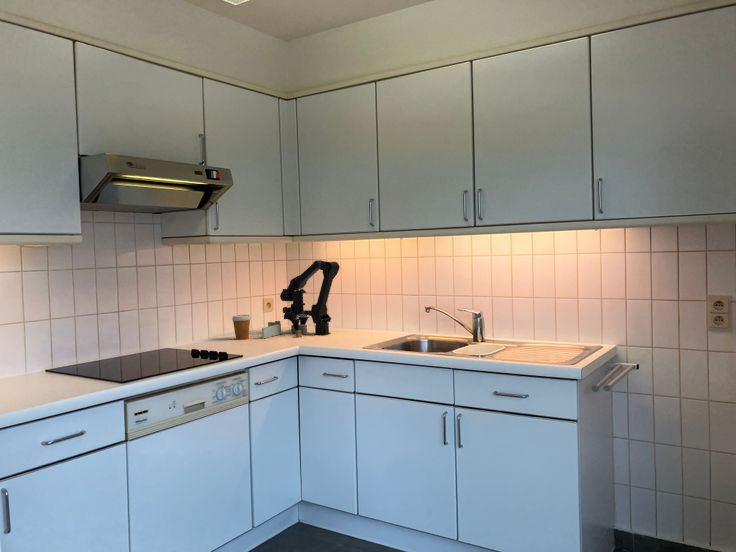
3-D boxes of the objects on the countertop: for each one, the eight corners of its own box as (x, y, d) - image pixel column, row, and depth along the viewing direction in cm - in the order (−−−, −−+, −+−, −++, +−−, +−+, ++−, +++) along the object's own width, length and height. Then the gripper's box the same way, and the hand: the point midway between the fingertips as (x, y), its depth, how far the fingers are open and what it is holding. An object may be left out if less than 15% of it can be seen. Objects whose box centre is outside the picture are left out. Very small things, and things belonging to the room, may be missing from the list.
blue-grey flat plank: (279, 333, 338) (279, 323, 338) (281, 333, 338) (281, 323, 337) (262, 338, 324) (261, 327, 324) (264, 338, 324) (263, 327, 323)
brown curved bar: (267, 333, 344) (267, 320, 344) (271, 332, 346) (270, 319, 345) (298, 337, 324) (297, 323, 324) (301, 336, 326) (301, 323, 325)
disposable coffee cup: (253, 337, 331) (252, 314, 330) (248, 340, 321) (247, 316, 321) (236, 337, 332) (235, 314, 331) (230, 340, 322) (229, 317, 322)
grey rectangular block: (307, 332, 342) (306, 324, 341) (302, 333, 338) (302, 325, 337) (296, 331, 345) (295, 324, 345) (291, 332, 341) (291, 325, 341)
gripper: (296, 299, 352) (298, 327, 353) (275, 303, 337) (276, 332, 337) (313, 300, 347) (314, 328, 348) (291, 303, 331) (292, 333, 332)
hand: (299, 330), depth 341 cm, fingers closed on grey rectangular block, 4 cm apart
